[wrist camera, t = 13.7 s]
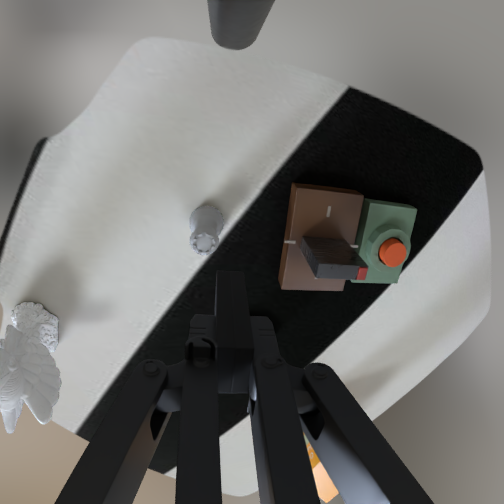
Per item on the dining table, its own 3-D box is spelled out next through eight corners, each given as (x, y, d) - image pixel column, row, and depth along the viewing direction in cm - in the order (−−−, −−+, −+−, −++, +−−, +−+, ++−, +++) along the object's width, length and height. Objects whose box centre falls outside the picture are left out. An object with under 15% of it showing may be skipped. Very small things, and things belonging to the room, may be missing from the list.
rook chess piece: (221, 202, 41) (221, 222, 34) (226, 234, 43) (227, 260, 36) (187, 207, 41) (179, 228, 34) (193, 239, 43) (187, 265, 36)
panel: (287, 182, 41) (292, 187, 38) (359, 190, 42) (368, 196, 39) (274, 278, 47) (277, 290, 44) (340, 281, 48) (346, 291, 45)
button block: (363, 198, 43) (376, 206, 39) (409, 204, 44) (424, 213, 40) (346, 275, 47) (356, 288, 44) (391, 276, 48) (402, 289, 45)
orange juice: (339, 401, 60) (368, 481, 42) (321, 426, 63) (343, 501, 45) (305, 399, 58) (329, 485, 40) (289, 425, 62) (306, 505, 43)
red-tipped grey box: (299, 248, 42) (316, 279, 34) (301, 235, 41) (319, 264, 33) (342, 251, 42) (365, 281, 35) (345, 239, 42) (370, 267, 34)
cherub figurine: (43, 287, 44) (-18, 370, 26) (87, 344, 49) (49, 435, 31) (3, 313, 45) (-50, 385, 27) (44, 362, 50) (6, 441, 32)
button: (382, 237, 41) (387, 242, 40) (403, 239, 42) (409, 243, 40) (376, 261, 43) (381, 266, 41) (397, 262, 43) (402, 267, 42)
